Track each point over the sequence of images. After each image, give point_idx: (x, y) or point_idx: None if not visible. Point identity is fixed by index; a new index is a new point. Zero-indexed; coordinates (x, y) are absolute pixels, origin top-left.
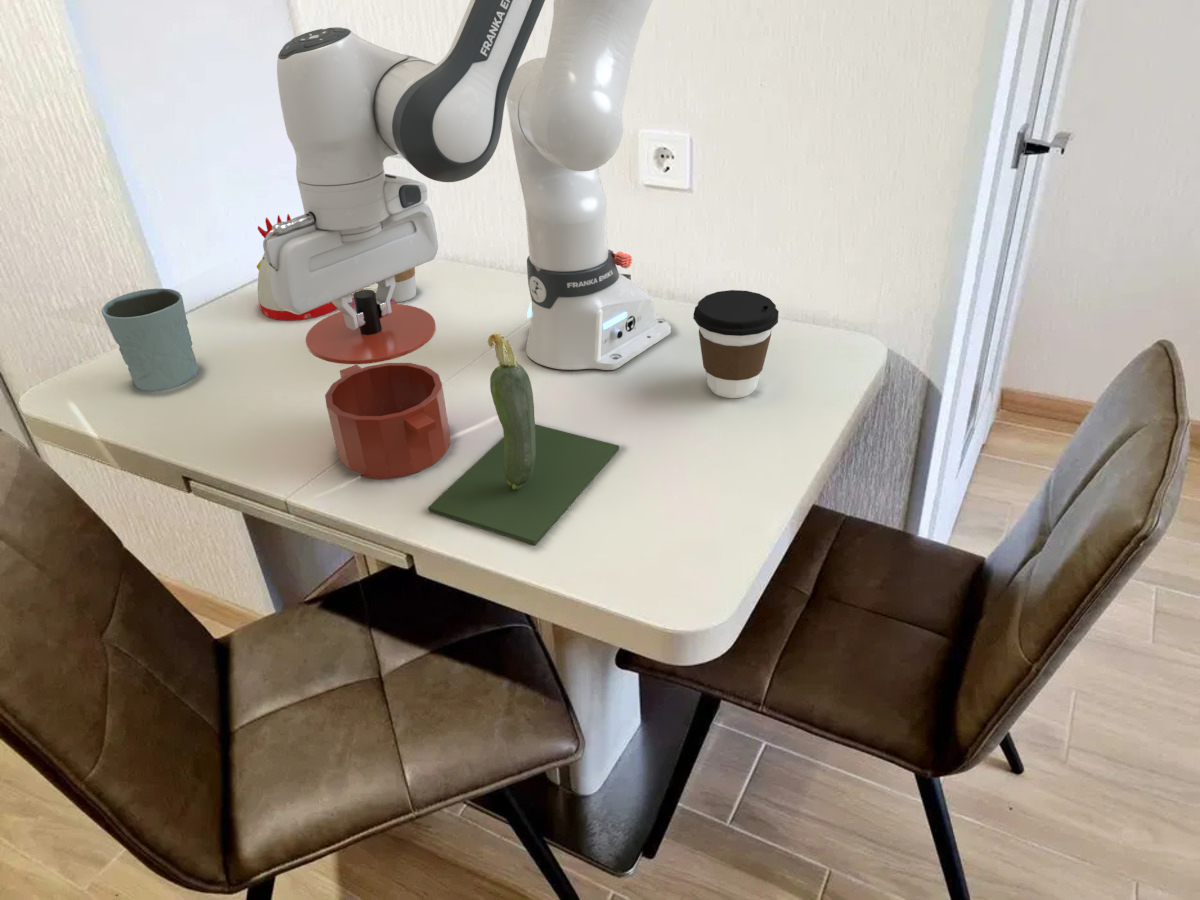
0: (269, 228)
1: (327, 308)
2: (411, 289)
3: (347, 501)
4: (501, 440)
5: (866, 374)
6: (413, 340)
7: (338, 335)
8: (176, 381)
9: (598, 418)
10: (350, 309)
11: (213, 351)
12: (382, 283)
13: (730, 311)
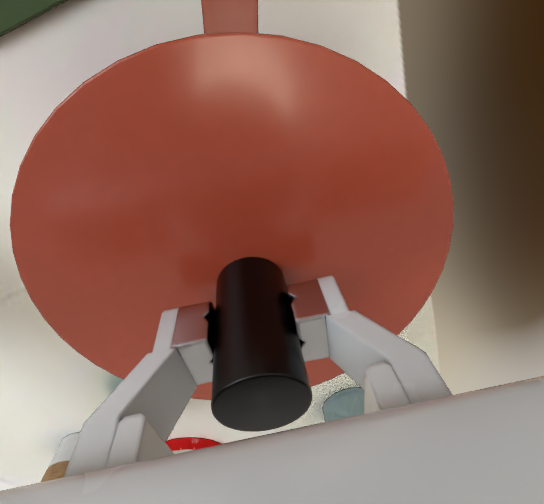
0: None
1: (171, 444)
2: (64, 446)
3: (369, 58)
4: (50, 1)
5: None
6: (154, 109)
7: None
8: (356, 395)
9: None
10: (370, 334)
11: (295, 423)
12: (153, 441)
13: None
